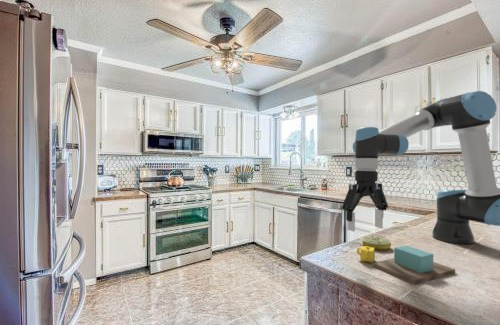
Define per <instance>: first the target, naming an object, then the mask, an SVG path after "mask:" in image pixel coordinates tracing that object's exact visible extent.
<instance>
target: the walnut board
mask: <svg viewBox="0 0 500 325" xmlns="http://www.w3.org/2000/svg"><path fill="white" fill-rule="evenodd" d="M372 264H373V265H372V266H373V267H375V268H376V269H379V270H381V271H383V272H385V273H387V274H390V275H393V276H394V277H397V278H398V279H401V280H402V281H405V282H408V283H410V284H412V285H417V284H420V283H424V282H425V283H426V282H428V281H432V280H436V279H439V278H442V277H445V276H449V275H453V274H455V273H456V269H455V268H453V267H450V266H447V265H444V264H441V263H438V262H435V261H433V270H430V271H426V272H423V273H420V272H417V271H415V270H412V269H410V268H407V267H405V266H402V265H400V264H397V263H395V262H394V257H393V258H390V259H385V260H380V261H376V262H375V261H374V262H372Z"/></svg>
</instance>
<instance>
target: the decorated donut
mask: <svg viewBox="0 0 500 325" xmlns="http://www.w3.org/2000/svg"><path fill="white" fill-rule="evenodd" d="M361 242H362V245H363V246H369V247H372V248H374V251H383V252H384V251H388V250H389V249H390V248H392V247H391V246H392V242H391V240H389V239H387V238H385V237H382V236H373V235H372V236H364V237H362V239H361Z"/></svg>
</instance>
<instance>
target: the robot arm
mask: <svg viewBox="0 0 500 325" xmlns="http://www.w3.org/2000/svg"><path fill="white" fill-rule="evenodd" d="M496 112H497V104H496V101H495V99H494V98H493V97H492V95H491V94H489V93H488V92H486V91H483V90H477V91H471V92H466V93H463V94H458V95H454V96H451V97H446V98H443V99H440V100H437V101H435V102H433V103H431V104H429V105H427V106H424V107H423V108H421V109H419V110H417V111H416V112H414V115H411V116H409V117H407V118H405V119H402V120H400V121H399V122H396V123H394V124H391V125H390V126H387V127H385V128H383V129H381V130H379V128H378V127H375V126H365V127H364V126H363V127H358V128H357V129H356V132H355V139H354V142H353V143H352V150H353V153H354V155H355V159H354V160H355V162H354V163H355V164H354V165H355V166H354V167H355V171H354V180H355V181H356V183H349V184H348V191H347V192H346V196H345V198H344V201H343V203H342V206H341V210H343V211H345V213H346V221H347V224H346V225H347V229H346V230H347V231H351V232H355V231H356V212H354V211H355V209H356V208H357V206H358V204H359V203H360V202H361V200H362V199H363V198H364V197H370V199H371V201H372V203H373V204H374V206H375V207H376V208H375V209H374V212H375V213H374V227H376V228H379V229H383V227H384V224H383V220H384V211H386V210H387V208H389V205H388V201H387V197H386V196H385V192H384V190H383V184H382V183H380V182H379V183H378V178H379V176H378V175H379V172H378V171H377V170H378V169H379V156H384V155H385V156H388V155H389V156H390V155H391V156H398V155H399V156H401V155H403V154H405V153H407V151H408V150H409V146H410V145H409V144H410V143H409V139H408V138H409V137H411V136H413V135H415V134H417V133H419V132H421V131H429V130H431V129H434V128H439V127H445V126H451V129H452V131H453V132H456V133H457V135H458V139H459V145H460V146H459V147H460V149H461V150H460V151H461V155H462V161H463V167H464V171H465V176H466V177H465V178H466V180H467V181H466V182H467V187H468V188H467V189H444V190H442V189H441V190H439V191H438V192H437V194H436V223H435V225H434V227H433V230H432V238H434V239H436V240H438V241H441V242H445V243H449V244H450V243H451V244H458V245H473V244H475V236H474V234H473V231H472V228H471V226H470V222H476V223H480V224H484V225H488V226H496V227H500V188H499V187H498V186H497V180H496V174H495V170H494V165H493V158H492V153H491V147H490V143H489V138H488V137H489V136H488V132H487V127H489V125H490V124H491V119H493V118H494V117H495V116H496Z"/></svg>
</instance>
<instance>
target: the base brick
mask: <svg viewBox="0 0 500 325" xmlns="http://www.w3.org/2000/svg"><path fill="white" fill-rule="evenodd" d="M393 251H394V254H393V255H394V257H393V258H394V262H395V263H397V264H400V265H402V266H405V267H407V268H410V269H412V270H415V271H417V272H420V273H423V272H426V271H430V270H433V262H434V253H431V252H428V251H425V250H422V249H418V248H415V247H412V246H409V245H402V246H397V247H394V250H393Z"/></svg>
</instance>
